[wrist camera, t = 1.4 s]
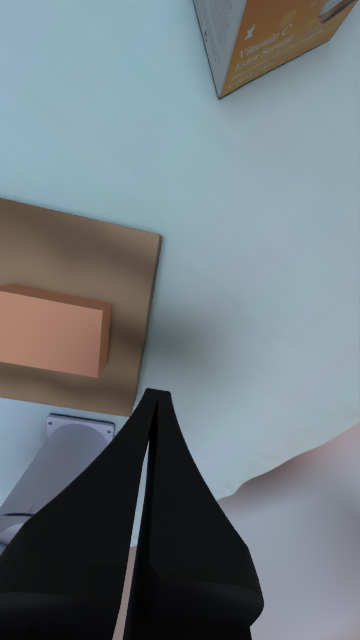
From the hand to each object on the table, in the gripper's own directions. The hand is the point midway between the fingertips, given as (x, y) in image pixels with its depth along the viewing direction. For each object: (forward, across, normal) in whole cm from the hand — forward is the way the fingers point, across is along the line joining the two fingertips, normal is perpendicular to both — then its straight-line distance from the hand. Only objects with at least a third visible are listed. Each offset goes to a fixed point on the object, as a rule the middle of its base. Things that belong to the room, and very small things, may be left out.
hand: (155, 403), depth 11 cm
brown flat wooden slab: (+9, +9, 0) cm, 13 cm away
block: (+7, +9, 0) cm, 11 cm away
